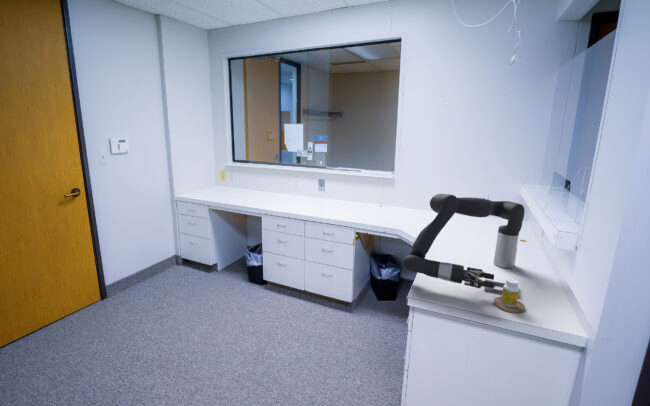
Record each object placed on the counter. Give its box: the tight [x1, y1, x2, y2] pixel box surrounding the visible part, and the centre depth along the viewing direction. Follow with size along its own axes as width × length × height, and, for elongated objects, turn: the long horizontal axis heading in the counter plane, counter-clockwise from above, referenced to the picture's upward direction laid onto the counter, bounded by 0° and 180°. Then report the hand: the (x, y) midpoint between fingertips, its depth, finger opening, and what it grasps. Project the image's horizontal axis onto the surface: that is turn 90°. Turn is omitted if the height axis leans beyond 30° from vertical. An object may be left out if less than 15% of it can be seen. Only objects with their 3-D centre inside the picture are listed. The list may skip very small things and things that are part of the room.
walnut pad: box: [492, 296, 526, 314], centre depth 128 cm, size 11×11×1 cm
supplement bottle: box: [501, 278, 520, 307], centre depth 127 cm, size 5×5×10 cm
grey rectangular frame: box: [483, 278, 521, 299], centre depth 141 cm, size 10×13×1 cm
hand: (494, 281), depth 128 cm, fingers open, 8 cm apart
